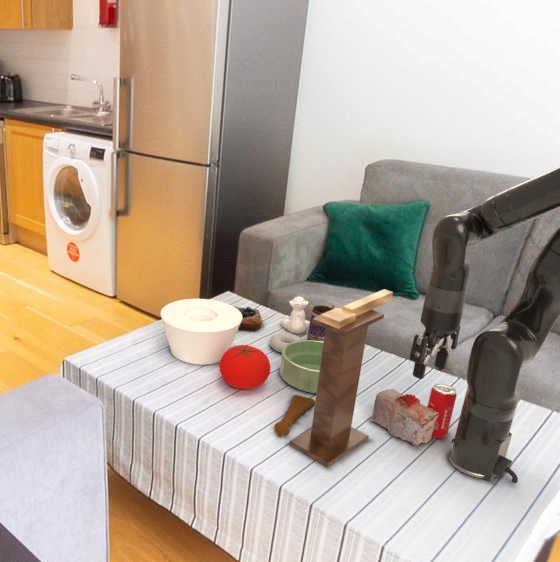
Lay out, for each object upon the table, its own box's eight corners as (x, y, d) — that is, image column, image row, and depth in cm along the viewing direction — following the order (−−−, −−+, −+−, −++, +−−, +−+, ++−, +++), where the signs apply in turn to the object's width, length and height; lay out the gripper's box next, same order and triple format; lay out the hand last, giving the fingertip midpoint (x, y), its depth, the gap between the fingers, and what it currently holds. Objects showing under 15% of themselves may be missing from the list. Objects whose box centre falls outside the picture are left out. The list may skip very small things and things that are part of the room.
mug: (322, 351, 177) (327, 314, 173) (301, 343, 182) (306, 307, 178) (339, 340, 184) (345, 305, 179) (319, 333, 188) (323, 298, 184)
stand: (368, 440, 136) (391, 314, 124) (327, 467, 127) (347, 335, 115) (331, 420, 144) (349, 300, 132) (289, 445, 135) (305, 318, 123)
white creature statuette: (309, 325, 194) (314, 291, 190) (313, 336, 186) (317, 302, 182) (280, 323, 195) (284, 290, 191) (282, 334, 187) (286, 300, 183)
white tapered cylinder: (143, 349, 178) (143, 313, 174) (196, 326, 193) (197, 292, 189) (203, 379, 162) (205, 340, 157) (255, 351, 177) (259, 315, 172)
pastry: (226, 315, 202) (227, 299, 200) (262, 318, 199) (263, 302, 197) (223, 328, 192) (224, 312, 190) (260, 332, 189) (262, 316, 187)
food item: (438, 441, 136) (446, 405, 132) (417, 453, 132) (425, 416, 128) (386, 413, 147) (392, 378, 143) (365, 423, 143) (371, 388, 139)
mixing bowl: (363, 380, 161) (367, 358, 158) (322, 403, 151) (326, 379, 148) (306, 355, 175) (309, 334, 172) (265, 374, 164) (268, 352, 162)
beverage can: (445, 442, 136) (456, 397, 131) (420, 434, 138) (430, 391, 134) (447, 430, 140) (458, 387, 135) (423, 424, 142) (433, 381, 138)
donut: (296, 359, 173) (307, 345, 180) (298, 349, 171) (308, 335, 179) (264, 350, 178) (275, 337, 185) (265, 340, 176) (276, 328, 184)
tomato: (244, 366, 168) (246, 333, 165) (278, 385, 159) (282, 351, 155) (207, 381, 161) (209, 347, 157) (241, 402, 151) (244, 366, 147)
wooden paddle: (377, 296, 134) (379, 287, 133) (396, 302, 130) (398, 293, 130) (319, 321, 121) (320, 311, 120) (338, 328, 118) (339, 318, 117)
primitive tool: (294, 396, 154) (295, 384, 152) (315, 402, 151) (317, 390, 150) (272, 434, 138) (273, 422, 137) (295, 441, 136) (297, 429, 134)
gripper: (441, 318, 118) (426, 388, 124) (479, 304, 126) (463, 371, 132) (407, 306, 124) (394, 373, 130) (445, 293, 132) (431, 357, 137)
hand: (429, 372), depth 131 cm, fingers open, 8 cm apart
